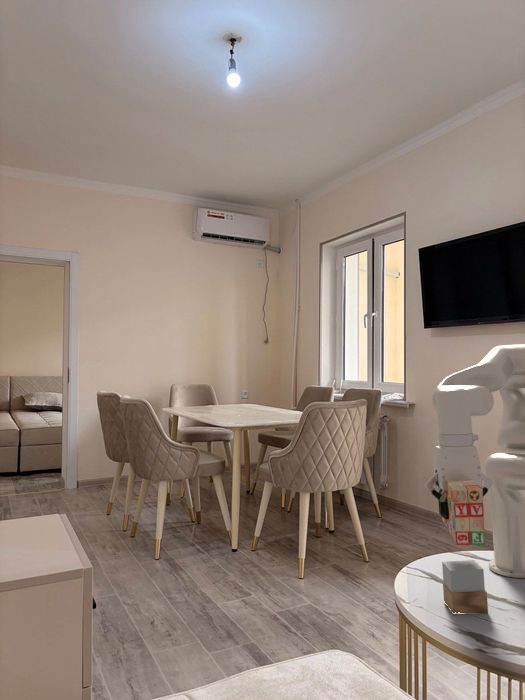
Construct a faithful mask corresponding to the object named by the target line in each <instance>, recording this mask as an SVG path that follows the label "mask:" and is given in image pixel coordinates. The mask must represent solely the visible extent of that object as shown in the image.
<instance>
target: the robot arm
mask: <svg viewBox="0 0 525 700" xmlns="http://www.w3.org/2000/svg"><path fill="white" fill-rule="evenodd" d="M522 389H525V343H517V344H515V343H514V344H503V345H497V346H495V347H493V348H492V349H491V350H490V351H488V353H487V354H486V355H485V356H484V357H483V358H482V359H481V360H480V361H479V362H478V363H477V364H476V365H473V366H470V367H467V368H465V369H463V370H460V371H458V372H454V373H452V374H450V375H448V376H446V377H445V378H444V379H443V380H442V381H441V382H440V383H439V384H438V385H437V386H436V388H435V389H434V391H433V394H432V398H431V402H432V407H433V409H434V411H435V412H436V414H437V425H438V426H437V427H438V429H437V430H438V443H439V444H438V445H436V446H435V448H434V449H435V450H434V455H433V456H434V457H433V458H434V459H433V474H432V476H430V477H429V479H428V480H427V481H425V483H424V484H423V487H424V488H425V489H426V490H427V491H428V492H430V494H431V495H433V496H434V497H435V499H437V500H438V512H439V516H440V517H441V516H442V517H443V518H444V519H449V516H448V503H447V502H446V497H447V494H448V493H447V492H448V483H447V481H465V480H474V481H475V482H476V483H477V484H478V485H479V486H480V487H481V488H482V489H483V498H484V496H485V495H486V494H487V493H488V492H489V498H490V511H491V526H492V541H493V542H492V543H493V554H494V555H493V557H494V558H492V559H491V560H489V562H488V568H489V569H490V570H491V571H492V572H493V573H495V574H498V575H500V576H503V577H507V578H517V579H525V495H524V494H523V493H522V491H525V392H524V391H523V390H522ZM497 391H499V395H500V397H501V401H502V410H501V415H500V420H499V421H500V422H499V426H498V429H497V430H498V431H497V438H496V439H497V444H498V446H499V448H500V449H502V450H503V451H505V452H495V453H492V454H490V455H488V457H487V458H486V459H485V462H484V473H483V472H482V467H481V462H480V457H479V452H478V450H477V445H474V443H475V441H479V439H480V438H479V435H478V434H474V432H473V424H472V423H473V422H472V417H484V416H487V414H489V413H490V412H492V409H493V408H494V405H495V404H494V403H495V400H494V399H495V398H494V395H493V393H494V392H497ZM434 485H435V486H437V488H438V487H440V488H439V491H438V490H437V489H435V488H434Z"/></svg>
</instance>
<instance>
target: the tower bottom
mask: <svg viewBox="0 0 525 700" xmlns="http://www.w3.org/2000/svg"><path fill="white" fill-rule="evenodd" d="M442 587H443V588H442V590H443V602H444V601H445V603H446V604H447V605H448V607H449V608H450V609H451V611H452V612H453V613H455V612H456V613H458V612H460V613H480V614H488V613H489V604H488V591H487V590H486V589H485V591H474V592H456V593H452V592H451V591H450V590H449V589H448V588H447V586H446V585H445V584H444V583H442Z"/></svg>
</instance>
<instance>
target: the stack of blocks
mask: <svg viewBox="0 0 525 700" xmlns="http://www.w3.org/2000/svg"><path fill="white" fill-rule="evenodd" d="M447 483H448V492H447V493H448V494H447V497H446V502H447V503H448V516H449V519H444V518H443V517H442V516H441V515H440V517H441V520H442V522H443V523H444V525H445V527H446V529H447V531H448V532H449V535H450V536H451V539H452V540H453V542H454V544H455V545H456V546H486V531H485V512H484V511H485V510H484V497H483V489H482V488H481V487H482V486H481V487H480V486H479V485H478V484H477V483H476V482H475V481H474V480H465V481H447ZM439 488H440V487H438V486H437V489H438V490H437V492H438V491H439Z"/></svg>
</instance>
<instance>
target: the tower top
mask: <svg viewBox="0 0 525 700" xmlns="http://www.w3.org/2000/svg"><path fill="white" fill-rule="evenodd" d="M441 563H442V564H441V565H442V581H443V583H444V584H445V585H446V586H447V588H448V589H449V590H450V591H451V592H452V593H456V592H474V591H485V590H486V589H485V588H486V587H485V576H484V575H485V573H484V572H485V571H484V568H483V567H482V566H481V565H480V564H479V563H478V562H476V560H474V559H468V560H467V559H466V560H447V561H441ZM443 583H442V584H443Z"/></svg>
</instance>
